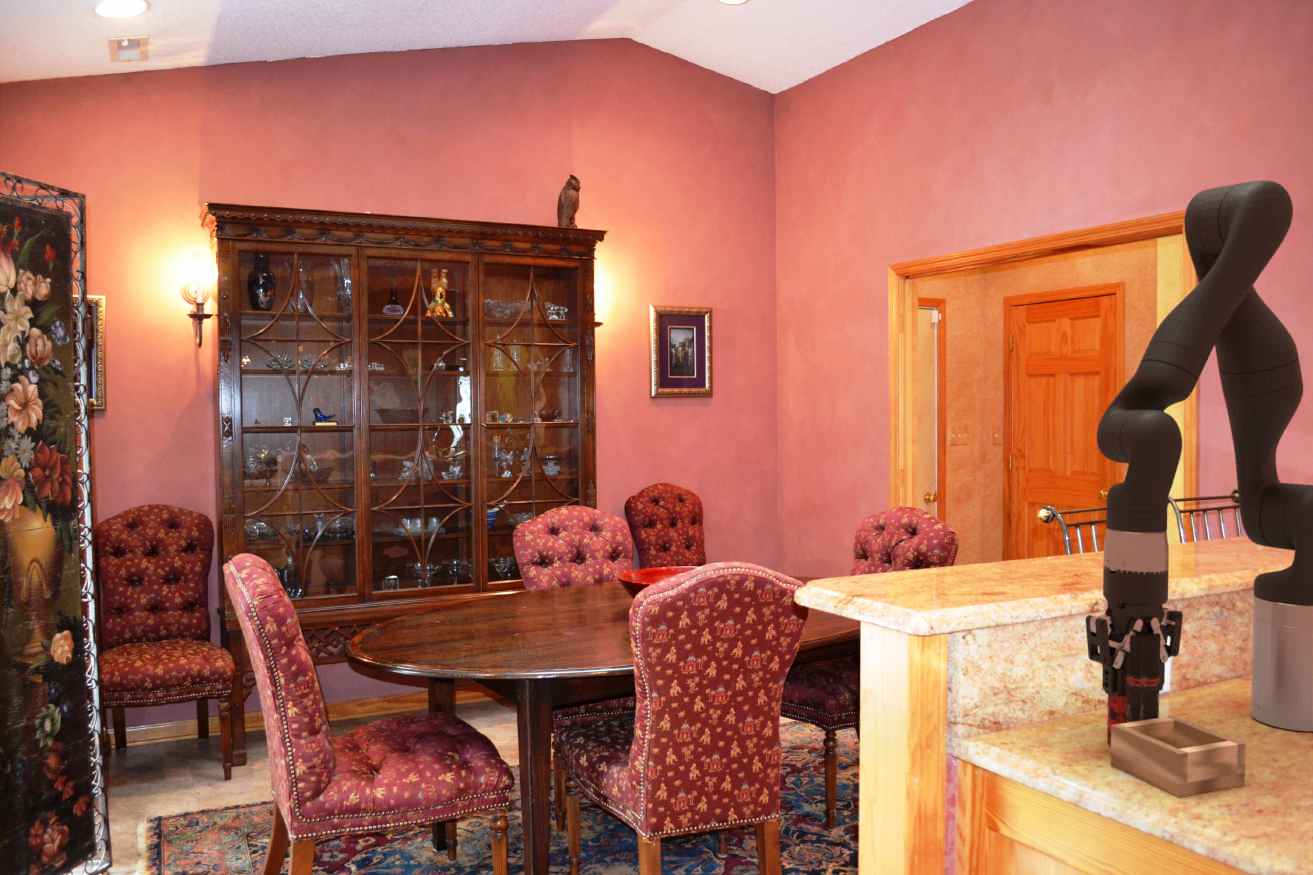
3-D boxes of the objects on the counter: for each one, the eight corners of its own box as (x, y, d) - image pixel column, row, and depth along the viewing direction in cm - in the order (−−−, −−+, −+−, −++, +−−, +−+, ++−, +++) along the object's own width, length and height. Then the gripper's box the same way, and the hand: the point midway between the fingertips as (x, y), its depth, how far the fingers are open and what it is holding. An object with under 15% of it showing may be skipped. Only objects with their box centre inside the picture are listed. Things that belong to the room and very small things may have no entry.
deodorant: (1164, 756, 119) (1166, 638, 119) (1114, 752, 121) (1116, 636, 120) (1150, 739, 125) (1152, 627, 125) (1102, 736, 126) (1103, 625, 126)
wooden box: (1173, 754, 120) (1173, 715, 120) (1244, 784, 110) (1245, 742, 110) (1110, 764, 117) (1111, 724, 116) (1178, 797, 107) (1179, 753, 107)
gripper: (1155, 556, 128) (1152, 678, 128) (1069, 562, 123) (1067, 689, 124) (1203, 565, 121) (1200, 695, 121) (1114, 572, 116) (1111, 707, 117)
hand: (1133, 691), depth 123 cm, fingers open, 6 cm apart
